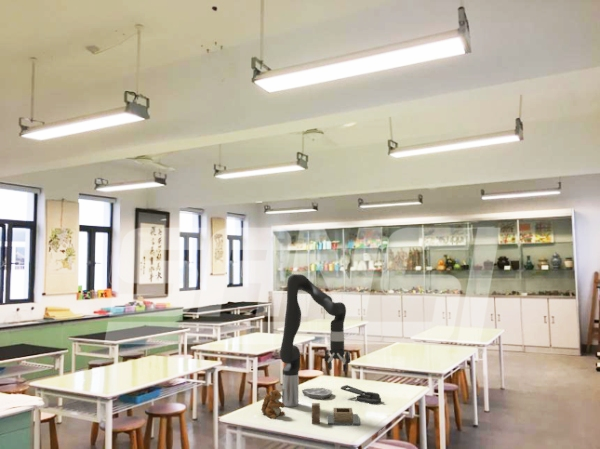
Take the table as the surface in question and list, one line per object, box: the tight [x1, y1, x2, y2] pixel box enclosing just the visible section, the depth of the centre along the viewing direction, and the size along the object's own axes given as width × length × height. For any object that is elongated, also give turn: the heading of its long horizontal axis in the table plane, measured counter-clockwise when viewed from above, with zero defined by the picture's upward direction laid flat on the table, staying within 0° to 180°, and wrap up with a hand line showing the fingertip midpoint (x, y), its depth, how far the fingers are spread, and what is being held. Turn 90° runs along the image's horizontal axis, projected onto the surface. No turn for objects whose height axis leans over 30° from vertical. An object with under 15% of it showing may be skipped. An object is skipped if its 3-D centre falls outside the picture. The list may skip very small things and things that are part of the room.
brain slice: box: [301, 387, 333, 400], centre depth 296 cm, size 20×17×3 cm
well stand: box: [326, 407, 361, 426], centre depth 245 cm, size 16×16×5 cm
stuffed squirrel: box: [260, 389, 286, 419], centre depth 256 cm, size 10×14×13 cm
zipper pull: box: [340, 384, 382, 405], centre depth 285 cm, size 9×7×25 cm
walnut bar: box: [311, 402, 321, 425], centre depth 242 cm, size 4×4×9 cm
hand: (337, 370), depth 256 cm, fingers open, 8 cm apart
